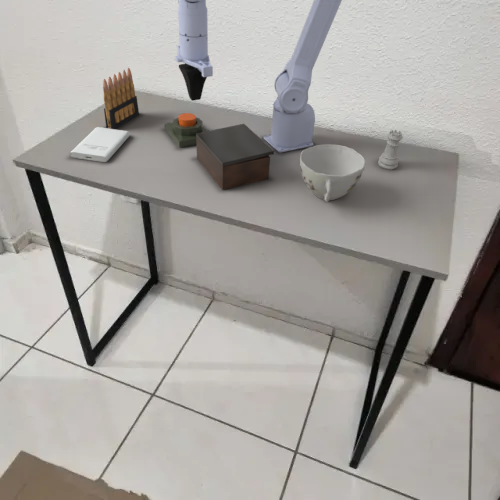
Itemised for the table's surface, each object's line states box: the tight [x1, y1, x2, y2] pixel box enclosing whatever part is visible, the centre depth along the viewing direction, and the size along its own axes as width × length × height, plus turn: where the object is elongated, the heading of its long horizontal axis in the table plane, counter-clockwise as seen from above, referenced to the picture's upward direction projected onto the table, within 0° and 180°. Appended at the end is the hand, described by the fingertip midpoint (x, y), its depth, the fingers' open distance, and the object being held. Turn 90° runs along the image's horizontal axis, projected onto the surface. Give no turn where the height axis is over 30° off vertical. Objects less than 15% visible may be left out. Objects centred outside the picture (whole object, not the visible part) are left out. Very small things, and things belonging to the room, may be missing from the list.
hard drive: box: [69, 126, 130, 163], centre depth 105 cm, size 2×8×12 cm
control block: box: [164, 116, 208, 149], centre depth 111 cm, size 10×8×4 cm
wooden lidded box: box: [196, 137, 271, 191], centre depth 99 cm, size 11×14×5 cm
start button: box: [178, 112, 197, 127], centre depth 109 cm, size 4×4×2 cm
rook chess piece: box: [377, 129, 403, 171], centre depth 103 cm, size 4×4×8 cm
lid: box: [196, 123, 275, 166], centre depth 97 cm, size 11×14×1 cm
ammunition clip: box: [102, 67, 140, 130], centre depth 112 cm, size 11×2×12 cm, turn 154°
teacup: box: [299, 143, 366, 203], centre depth 92 cm, size 15×12×8 cm
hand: (195, 98), depth 103 cm, fingers closed
